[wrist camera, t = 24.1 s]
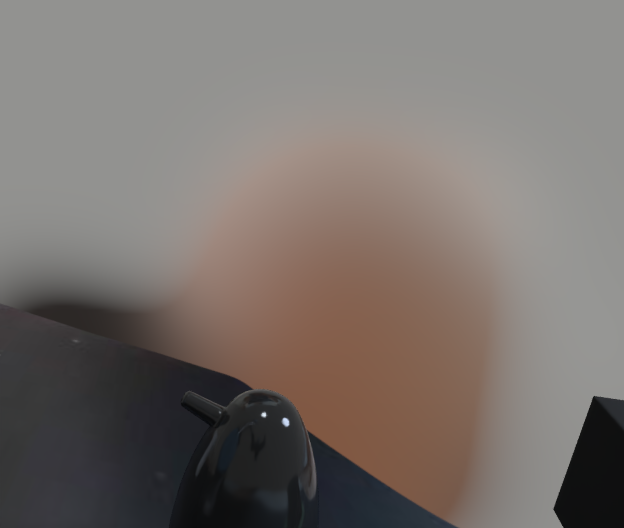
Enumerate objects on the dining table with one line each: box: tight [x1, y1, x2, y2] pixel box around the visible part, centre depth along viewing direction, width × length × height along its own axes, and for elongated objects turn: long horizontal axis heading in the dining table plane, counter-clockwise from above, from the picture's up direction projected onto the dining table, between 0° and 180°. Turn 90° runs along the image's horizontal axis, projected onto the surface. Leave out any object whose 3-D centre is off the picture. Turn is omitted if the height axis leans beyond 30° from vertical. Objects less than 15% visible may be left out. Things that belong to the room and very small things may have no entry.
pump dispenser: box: [169, 389, 319, 528], centre depth 40 cm, size 10×10×15 cm
